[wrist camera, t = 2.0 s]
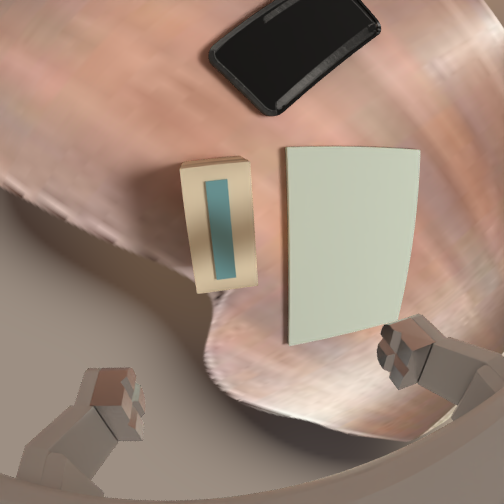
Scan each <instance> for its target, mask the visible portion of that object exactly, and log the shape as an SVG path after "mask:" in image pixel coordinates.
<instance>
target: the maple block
mask: <svg viewBox="0 0 504 504" xmlns="http://www.w3.org/2000/svg"><path fill="white" fill-rule="evenodd" d="M180 178H181V186H182V194H183V202H184V210H185V218H186V225H187V232H188V239H189V246H190V252H191V259H192V265H193V271H194V277H195V283H196V289H197V293H198V294H200V293H208V292H215V291H223V290H230V289H237V288H244V287H251V286H258V278H257V262H256V246H255V230H254V214H253V198H252V183H251V168H250V161H248V160H246V159H245V158H243V157H241V156H232V157H221V158H212V159H203V160H194V161H186V162H183V163H182V165H181V167H180Z"/></svg>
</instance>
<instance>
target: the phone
mask: <svg viewBox="0 0 504 504" xmlns="http://www.w3.org/2000/svg"><path fill="white" fill-rule="evenodd" d="M380 32H381V25H380V23H379V21H378V20H377V19H376V17H375V16H374V15H373V14H372V13H371V11H370V10H369V9H368V8H367V7H366V6H365V5H364V4H363V2H362V1H361V0H275V1H273V2H272V3H270V4H269V5H267V6H266V7H264V8H263V9H261V10H260V11H258V12H257V13H255V14H254V15H252V16H251V17H250V18H248V19H247V20H245V21H244V22H243V23H241V24H240V25H239V26H237V27H236V28H235V29H233V30H232V31H231V32H229V33H228V34H227V35H225V36H224V37H223V38H222V39H220V40H219V41H218V42H217V43H215V44H214V45H213V46H212V47H211V49H210V51H209V61H210V63H211V64H212V66H213V67H215V68H216V69H217V70H218V71H219V72H220V73H221V74H222V75H223V76H224V77H225V78H226V79H228V80H229V81H230V82H231V83H232V84H233V85H234V86H235V87H236V88H237V89H238V90H239V91H240V92H241V93H242V94H243V95H244V96H245V97H246V98H247V99H248V100H249V101H250V102H251V103H252V104H253V105H254V106H255V107H256V108H257V109H258V110H259V111H260V112H261V113H263V114H264V115H267V116H276V115H280V114H281V113H283V112H284V111H285V110H286V109H287V108H289V107H290V106H291V105H292V104H293V103H294V102H295V101H296V100H298V99H299V98H300V97H301V96H302V95H303V94H305V93H306V92H307V91H308V90H309V89H310V88H312V87H313V86H314V85H315V84H316V83H318V82H319V81H320V80H321V79H322V78H324V77H325V76H326V75H327V74H328V73H330V72H331V71H332V70H333V69H335V68H336V67H337V66H338V65H340V64H341V63H342V62H343V61H345V60H346V59H347V58H348V57H350V56H351V55H352V54H353V53H355V52H356V51H357V50H359V49H360V48H361V47H363V46H364V45H365V44H367V43H368V42H369V41H371V40H372V39H373V38H375V37H376V36H377V35H379V34H380Z"/></svg>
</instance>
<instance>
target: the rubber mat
mask: <svg viewBox="0 0 504 504" xmlns="http://www.w3.org/2000/svg"><path fill="white" fill-rule="evenodd" d="M285 151H286V178H287V215H288V345H289V346H292V345H297V344H302V343H307V342H312V341H317V340H321V339H326V338H330V337H335V336H339V335H343V334H347V333H351V332H355V331H359V330H363V329H367V328H371V327H375V326H379V325H382V324H386V323H389V322H393V321H397V320H398V316H399V312H400V308H401V303H402V299H403V294H404V289H405V284H406V279H407V273H408V268H409V262H410V256H411V249H412V243H413V235H414V228H415V219H416V210H417V199H418V187H419V170H420V150H417V149H403V148H385V147H356V146H307V147H285Z"/></svg>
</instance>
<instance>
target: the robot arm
mask: <svg viewBox="0 0 504 504" xmlns="http://www.w3.org/2000/svg"><path fill="white" fill-rule="evenodd" d="M381 336H382V337H383V339H382V340H381V341H380V343H379V344H378V348H377V357H378V361H379V363H380V365H381V367H382V368H383V369H384V370H387V371H389V372H390V376H389V378H390V379H391V381H392V382H393V383H394V385H395V386H396V387H397V389H398V390H400V389H403V388H405V387H408V386H411V385H413V384H416V383H418V384H419V385H421V386H422V387H424V388H426V389H428V390H430V391H432V392H433V393H435V394H437V395H439V396H441V397H443V398H444V399H446V400H448V401H450V402H452V403H454V404H456V405H457V407H456V409H455V410H454V412H453V414H452V416H451V418H452V420H453V422H451V423H449V424H448V425H446V426H444V427H442V428H441V429H439V430H437V431H435V432H433V433H431V434H430V435H428V436H426V437H424V438H422V439H420V440H418V441H416V442H414V443H412V444H410V445H408V446H406V447H403V448H401V449H399V450H397V451H395V452H393V453H390V454H388V455H386V456H383V457H381V458H379V459H376V460H373V461H371V462H368V463H366V464H363V465H361V466H358V467H355V468H352V469H349V470H346V471H343V472H340V473H337V474H334V475H331V476H327V477H324V478H321V479H317V480H313V481H310V482H306V483H302V484H298V485H294V486H289V487H285V488H280V489H275V490H270V491H265V492H259V493H253V494H248V495H240V496H232V497H224V498H213V499H200V500H180V501H179V500H178V501H177V500H176V501H154V500H131V499H118V498H108V497H104V492H103V491H102V490H101V489H100V488H99V487H98V486H97V485H95V484H94V483H93V482H92V481H91V479H92V478H93V477H94V475H95V474H96V472H97V471H98V470H99V468H100V467H101V466H102V464H103V463H104V461H105V460H106V459H107V457H108V456H109V455H110V453H111V452H112V450H113V449H114V448H115V446H116V445H117V444H118V441H143V431H144V423H143V421H142V419H141V417H142V416H143V415H144V414H145V397H144V393H143V390H142V388H141V386H140V385H139V384H137V383H136V382H135V381H136V375H135V372H134V370H133V369H132V368H130V367H128V368H88V369H87V370H86V371H85V374H84V376H83V380H82V382H81V386H80V389H79V392H78V395H77V398H76V401H75V405H74V406H69V407H68V408H67V409H66V410H65V411H64V412H63V413H62V414H60V415H59V416H58V417H57V418H56V419H55V420H54V421H53V422H52V423H50V424H49V425H48V426H47V427H46V428H45V429H43V430H42V431H41V432H40V433H39V434H38V435H37V436H36V437H35V438H33V439H32V440H31V441H30V442H29V443H28V444H27V445H26V446H25V448H24V451H23V455H22V458H21V462H20V465H19V469H18V473H17V476H16V478H14V477H11V476H8V475H5V474H2V473H0V504H504V357H503V356H502V355H501V354H500V353H497V352H493V351H490V350H487V349H484V348H481V347H478V346H475V345H472V344H469V343H466V342H463V341H460V340H457V339H454V338H451V337H448V338H446V337H445V336H444V335H443V334H442V333H441V332H440V331H439V330H438V329H437V328H436V327H435V326H434V325H433V324H432V323H430V322H429V321H428V320H427V319H426V318H425V317H424V316H423V315H421V314H416V315H413V316H410V317H408V318H405V319H401V320H398V321H395V322H391V323H388V324H385V325H384V326H383V327H382V330H381Z"/></svg>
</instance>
